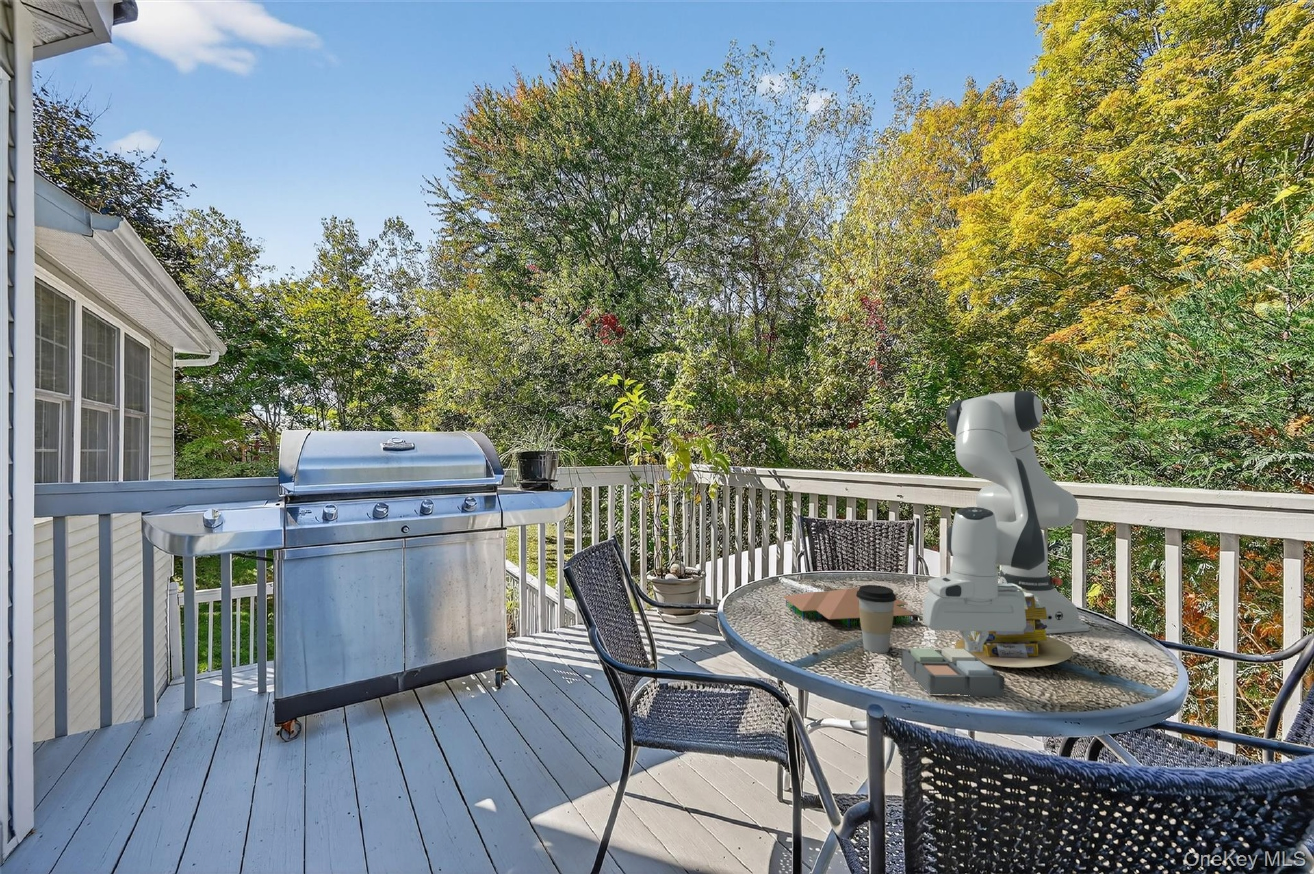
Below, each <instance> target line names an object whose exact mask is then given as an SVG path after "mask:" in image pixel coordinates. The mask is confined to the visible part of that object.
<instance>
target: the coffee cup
mask: <svg viewBox="0 0 1314 874" xmlns="http://www.w3.org/2000/svg"><path fill="white" fill-rule="evenodd" d="M858 589H859V590H858V591H857V594H856V596H857V597H858V598H859V605H860V606H859V612H860V618H859V623H860V629H861V632H862V633H861V634H862V643H863V649H864V650H866V651H868V652H870V653H876V654H884V653H888V652H889V650H890V644H891V643H890V642H891V634H892V629H893V628H892V627H893V623H894V616H893V613H894V609H893V607H894V601H895V600H896V598H897V595H896V594H895V593H894V590H893V589H892V588H890V587H887V586H883V585H877V584H876V585H875V584H866V585H861V586H859V588H858Z"/></svg>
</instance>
